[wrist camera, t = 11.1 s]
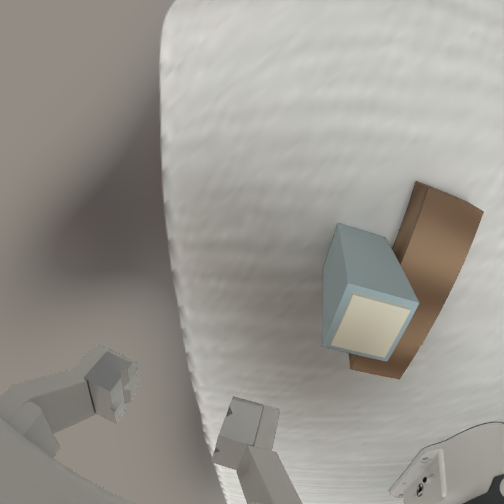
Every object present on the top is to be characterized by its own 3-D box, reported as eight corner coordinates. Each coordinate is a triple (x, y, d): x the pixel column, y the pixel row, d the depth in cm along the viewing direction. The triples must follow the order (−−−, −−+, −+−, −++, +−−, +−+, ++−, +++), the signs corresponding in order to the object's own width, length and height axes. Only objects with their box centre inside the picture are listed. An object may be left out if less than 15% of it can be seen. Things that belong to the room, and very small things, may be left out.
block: (368, 281, 25) (387, 364, 15) (323, 268, 25) (321, 349, 16) (385, 237, 23) (420, 305, 14) (338, 223, 23) (348, 285, 14)
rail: (394, 358, 27) (399, 379, 24) (348, 347, 27) (350, 369, 25) (467, 201, 20) (483, 211, 18) (416, 180, 21) (428, 188, 18)
